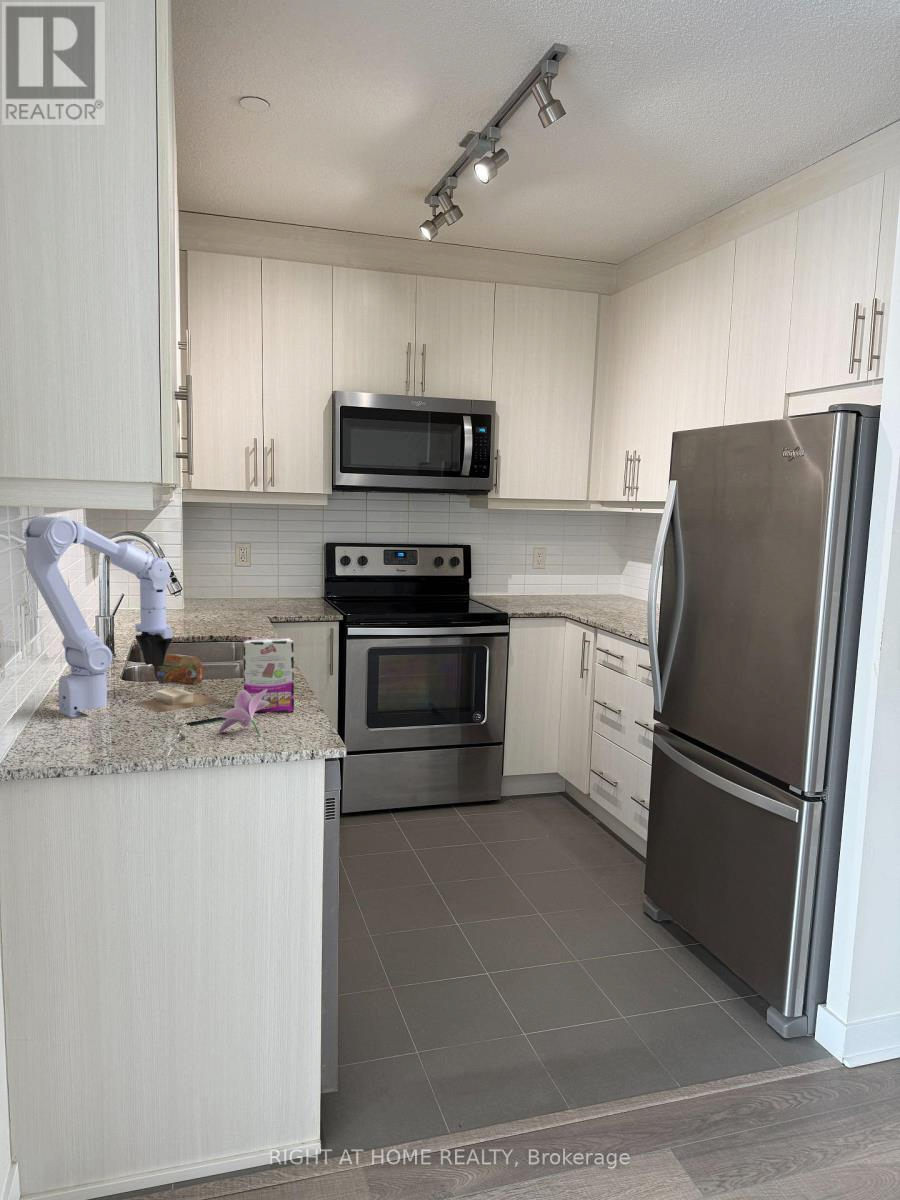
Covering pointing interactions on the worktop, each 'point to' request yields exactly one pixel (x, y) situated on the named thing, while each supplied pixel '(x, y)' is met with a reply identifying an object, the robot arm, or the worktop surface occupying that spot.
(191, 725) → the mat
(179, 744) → the worktop surface
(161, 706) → the board
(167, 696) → the cream flat block
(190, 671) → the orange green food package
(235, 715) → the lily
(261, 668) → the candy bar box
